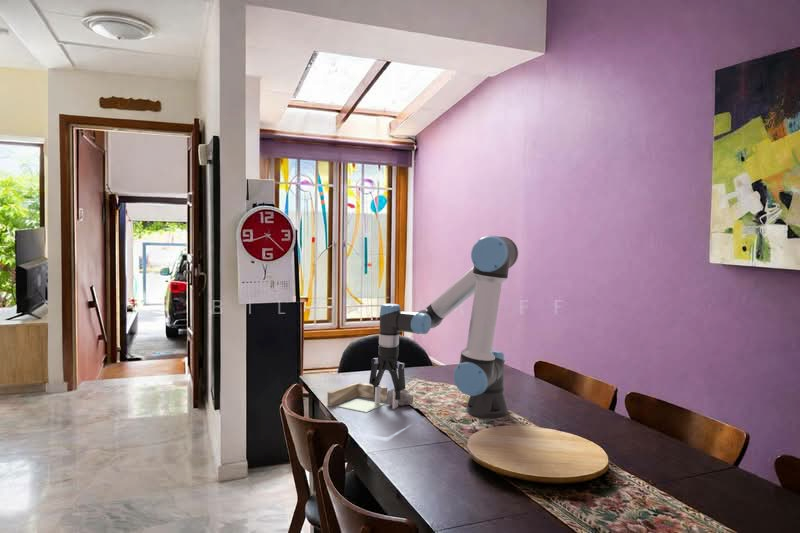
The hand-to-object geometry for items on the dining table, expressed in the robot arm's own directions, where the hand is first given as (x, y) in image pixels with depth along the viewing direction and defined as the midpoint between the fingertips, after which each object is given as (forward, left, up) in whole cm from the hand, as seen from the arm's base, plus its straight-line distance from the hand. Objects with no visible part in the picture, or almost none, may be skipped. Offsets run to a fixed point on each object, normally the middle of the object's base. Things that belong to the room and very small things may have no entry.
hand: (386, 405), depth 198 cm
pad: (+9, +4, 0) cm, 10 cm away
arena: (+9, +2, 0) cm, 9 cm away
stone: (0, -1, 0) cm, 1 cm away
